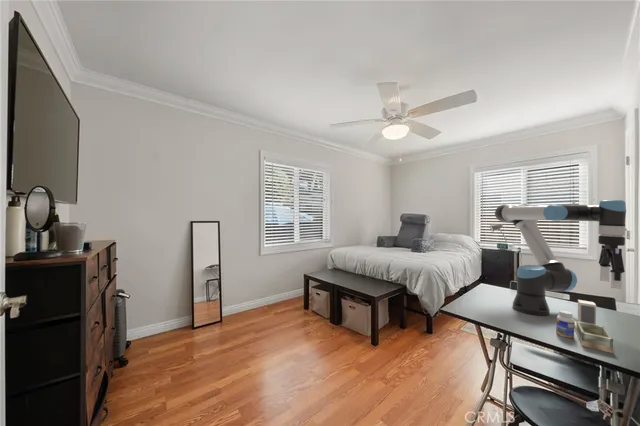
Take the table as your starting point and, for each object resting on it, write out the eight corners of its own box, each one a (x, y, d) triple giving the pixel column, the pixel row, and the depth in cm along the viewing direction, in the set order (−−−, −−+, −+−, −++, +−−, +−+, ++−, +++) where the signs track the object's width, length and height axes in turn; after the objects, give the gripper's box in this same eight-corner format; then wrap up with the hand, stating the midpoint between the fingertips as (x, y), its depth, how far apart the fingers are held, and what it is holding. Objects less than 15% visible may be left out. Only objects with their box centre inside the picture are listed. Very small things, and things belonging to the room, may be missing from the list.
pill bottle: (552, 332, 109) (553, 309, 109) (564, 332, 110) (564, 309, 110) (566, 338, 104) (566, 314, 104) (578, 338, 104) (578, 314, 104)
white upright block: (579, 325, 112) (579, 302, 112) (577, 321, 116) (577, 299, 116) (596, 328, 108) (596, 305, 109) (593, 324, 113) (593, 302, 113)
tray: (581, 345, 98) (582, 332, 98) (572, 324, 117) (572, 313, 117) (613, 353, 93) (613, 339, 93) (598, 329, 112) (598, 318, 112)
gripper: (637, 238, 97) (636, 293, 98) (613, 234, 118) (612, 279, 118) (609, 237, 102) (607, 289, 102) (590, 233, 122) (589, 277, 122)
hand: (610, 284), depth 110 cm, fingers open, 13 cm apart
